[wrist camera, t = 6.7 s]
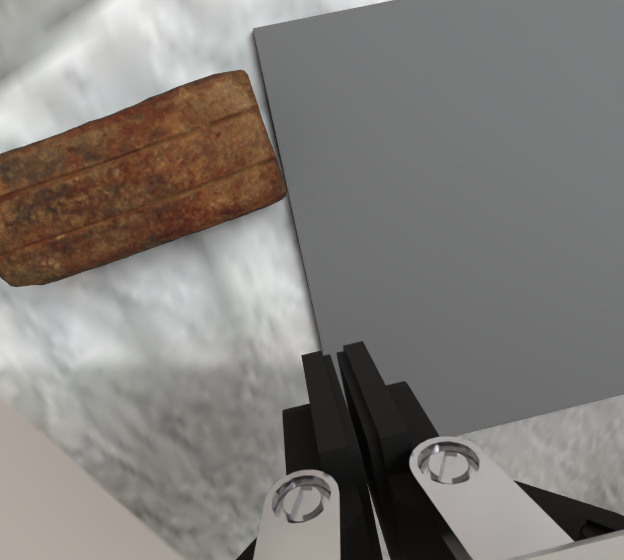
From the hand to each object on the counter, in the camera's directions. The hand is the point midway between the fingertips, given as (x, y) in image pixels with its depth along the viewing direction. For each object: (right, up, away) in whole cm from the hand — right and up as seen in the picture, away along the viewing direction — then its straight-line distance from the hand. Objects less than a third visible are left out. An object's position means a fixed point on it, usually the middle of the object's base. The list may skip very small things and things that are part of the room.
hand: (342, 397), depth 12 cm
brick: (-8, +2, +4) cm, 9 cm away
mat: (+8, +5, +10) cm, 13 cm away
